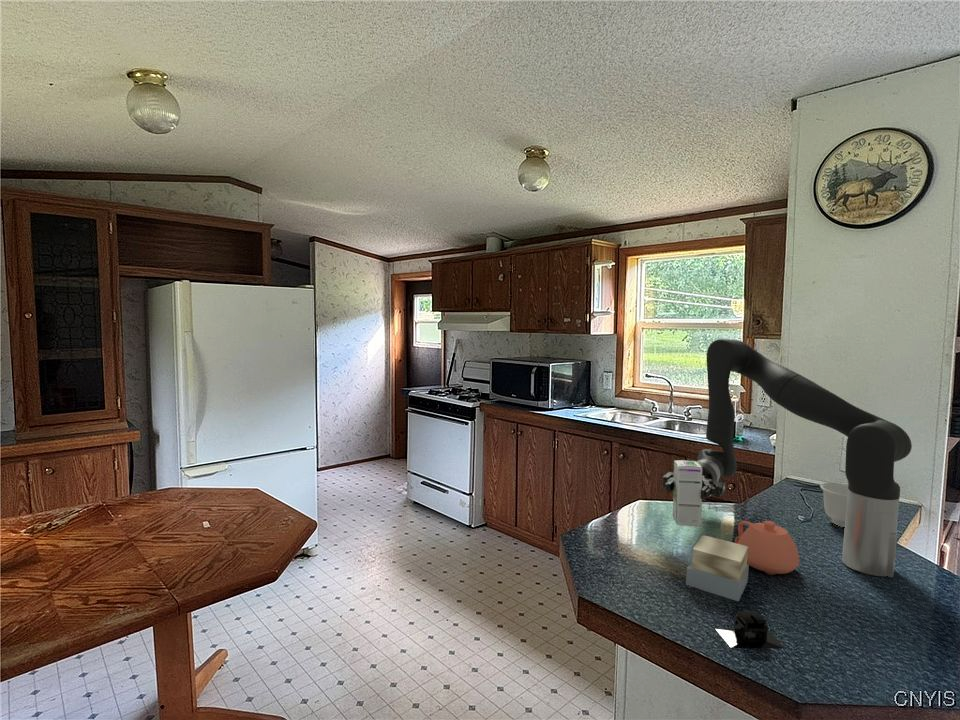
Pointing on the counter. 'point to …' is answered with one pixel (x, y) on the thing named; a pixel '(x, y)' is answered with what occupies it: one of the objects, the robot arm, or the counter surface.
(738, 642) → the black slotted chunky part
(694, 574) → the tower base
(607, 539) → the counter surface
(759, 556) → the salmon teapot
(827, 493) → the teacup
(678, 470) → the syrup box
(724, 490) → the robot arm
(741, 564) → the tower top
